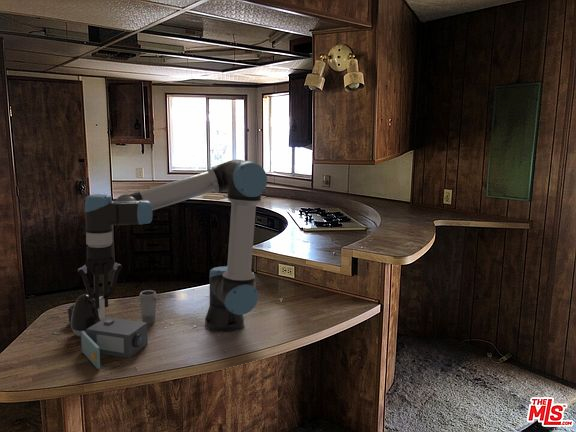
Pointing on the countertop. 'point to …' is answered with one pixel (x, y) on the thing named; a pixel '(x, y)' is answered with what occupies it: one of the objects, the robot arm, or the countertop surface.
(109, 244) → the robot arm
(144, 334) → the box
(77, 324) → the black egg shape
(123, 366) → the countertop surface
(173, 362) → the countertop surface
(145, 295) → the cup
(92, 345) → the side door
